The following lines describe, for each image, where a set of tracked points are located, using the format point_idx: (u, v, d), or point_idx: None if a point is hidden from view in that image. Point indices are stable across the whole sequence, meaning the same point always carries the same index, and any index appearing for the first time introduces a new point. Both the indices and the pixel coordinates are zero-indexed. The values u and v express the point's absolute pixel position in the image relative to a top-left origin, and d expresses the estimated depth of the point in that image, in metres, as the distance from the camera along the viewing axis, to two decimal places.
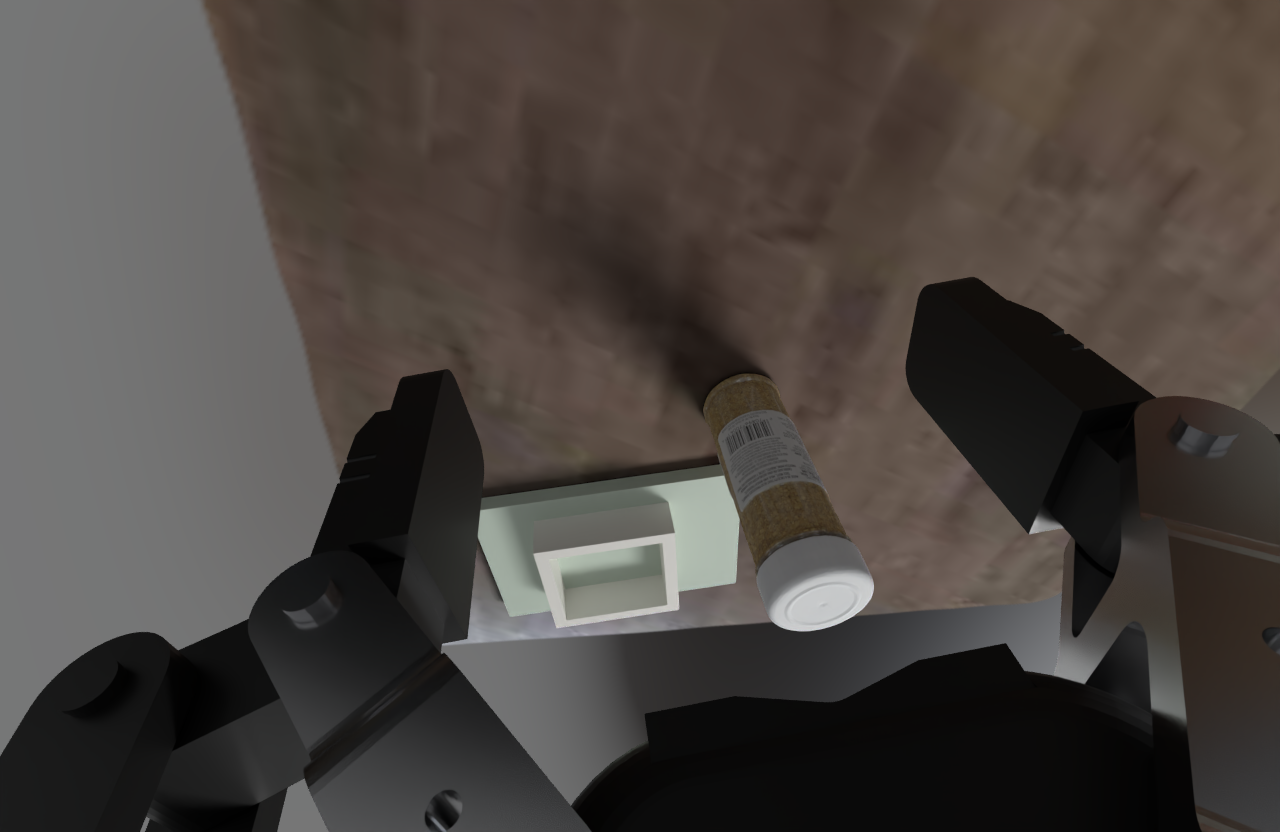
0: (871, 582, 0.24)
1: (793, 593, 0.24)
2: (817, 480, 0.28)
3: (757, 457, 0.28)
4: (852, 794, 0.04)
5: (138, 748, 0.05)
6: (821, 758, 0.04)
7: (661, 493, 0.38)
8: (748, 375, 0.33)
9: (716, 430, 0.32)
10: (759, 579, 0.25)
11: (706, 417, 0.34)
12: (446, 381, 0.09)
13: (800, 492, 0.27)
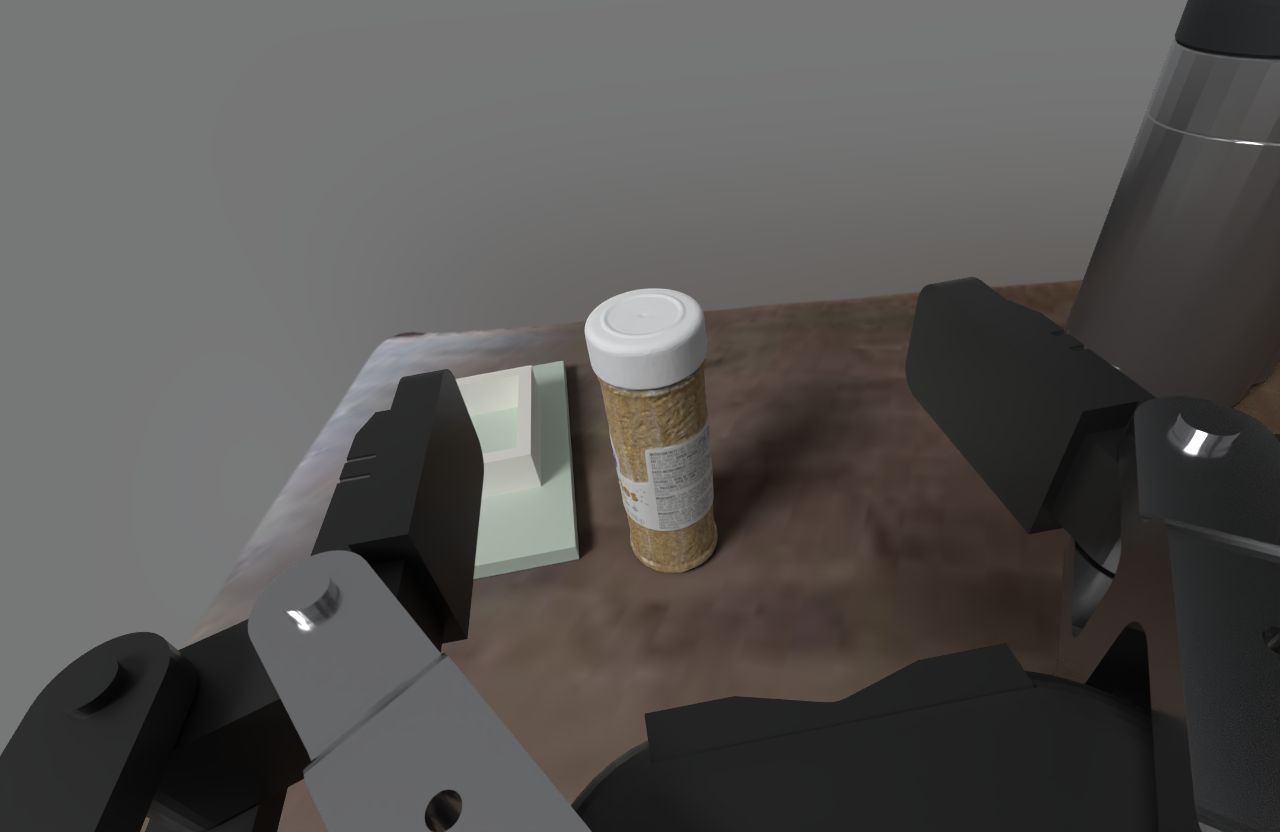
0: (676, 340, 0.21)
1: (668, 292, 0.23)
2: (701, 437, 0.25)
3: None
4: (852, 794, 0.04)
5: (136, 748, 0.05)
6: (821, 758, 0.04)
7: (556, 478, 0.34)
8: None
9: None
10: None
11: None
12: (446, 381, 0.09)
13: None
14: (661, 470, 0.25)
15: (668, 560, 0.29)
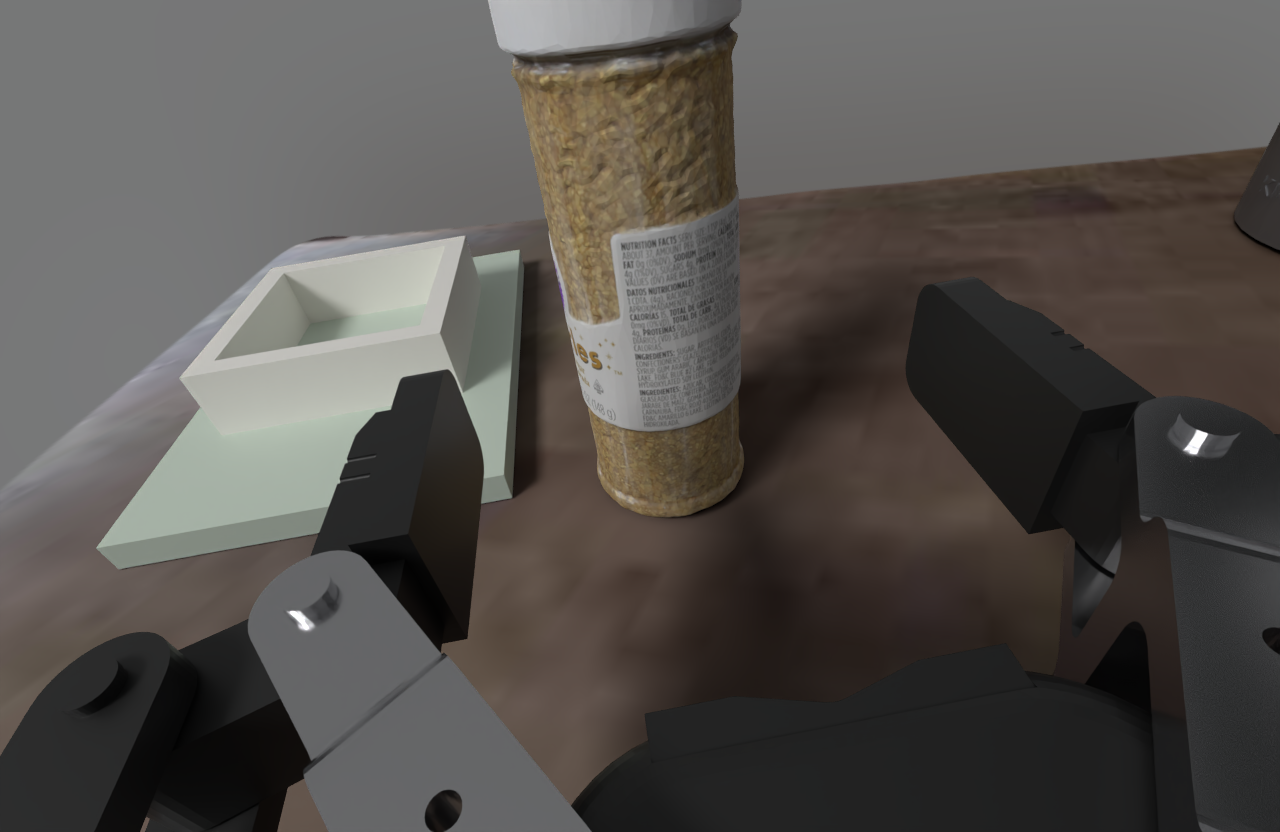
0: None
1: None
2: (725, 223, 0.12)
3: None
4: (852, 794, 0.04)
5: (139, 748, 0.05)
6: (821, 758, 0.04)
7: (488, 382, 0.22)
8: (742, 450, 0.18)
9: None
10: None
11: None
12: (446, 381, 0.09)
13: None
14: (646, 288, 0.12)
15: (660, 493, 0.16)
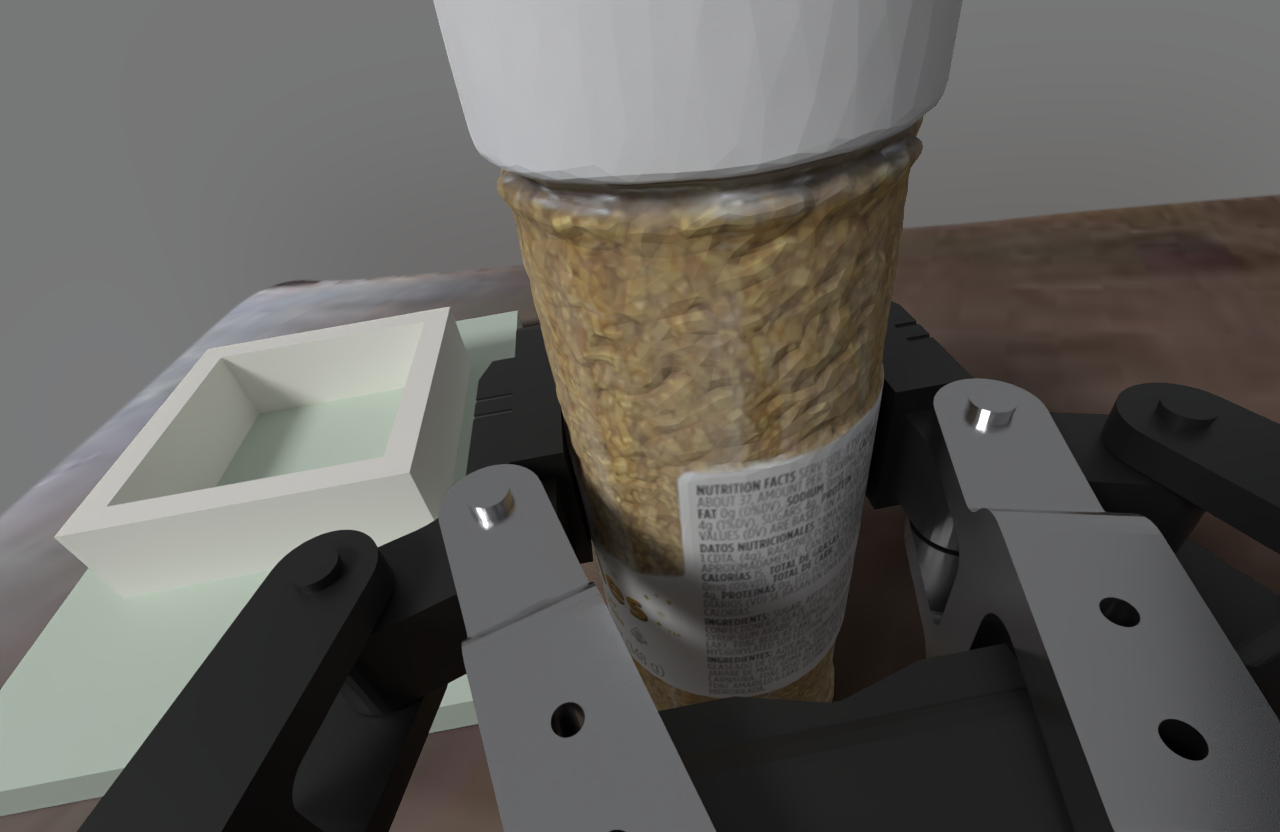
0: None
1: None
2: (870, 429, 0.07)
3: None
4: (852, 794, 0.04)
5: (340, 637, 0.06)
6: (821, 758, 0.04)
7: None
8: None
9: None
10: None
11: None
12: None
13: None
14: (733, 543, 0.07)
15: None
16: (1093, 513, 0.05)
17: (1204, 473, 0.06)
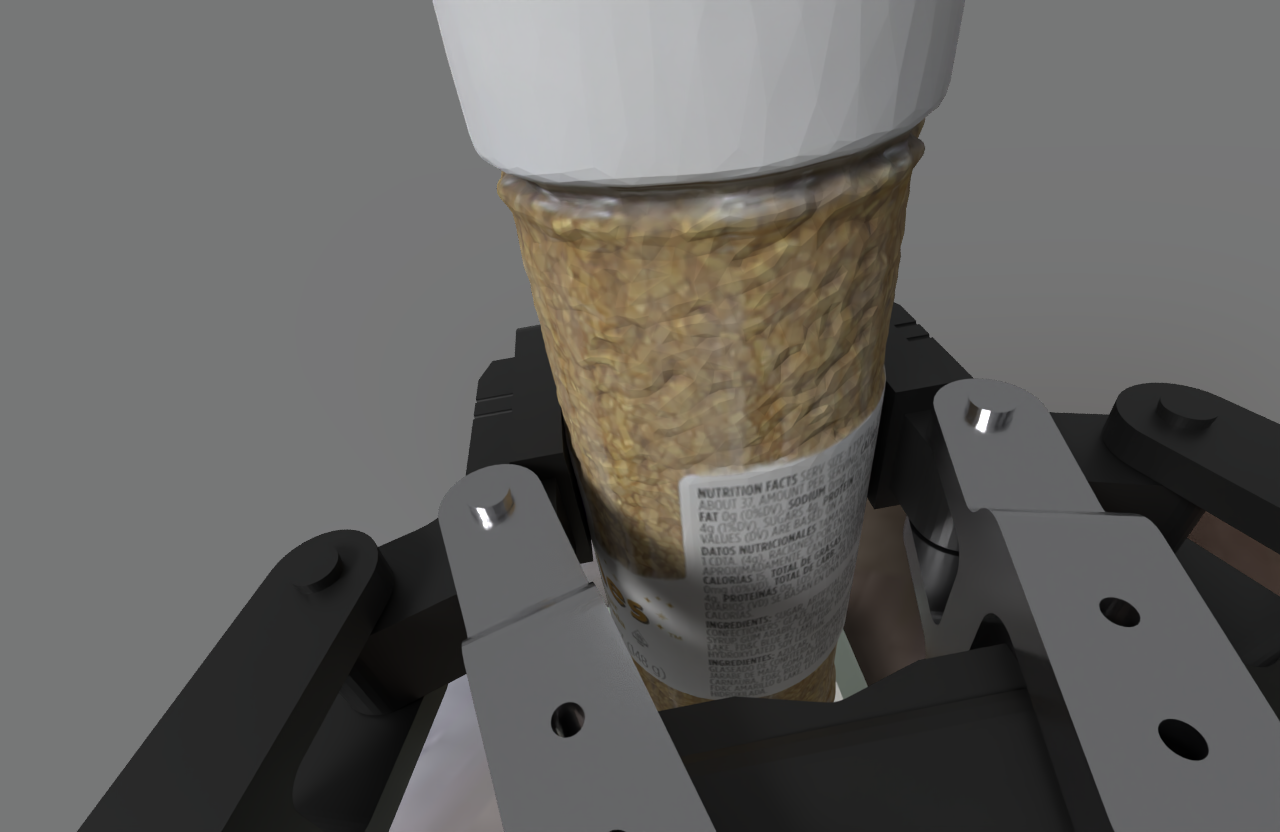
0: None
1: None
2: (871, 431, 0.07)
3: None
4: (852, 794, 0.04)
5: (341, 636, 0.06)
6: (821, 758, 0.04)
7: None
8: None
9: None
10: None
11: None
12: None
13: None
14: (734, 546, 0.07)
15: None
16: (1093, 513, 0.05)
17: (1204, 473, 0.06)
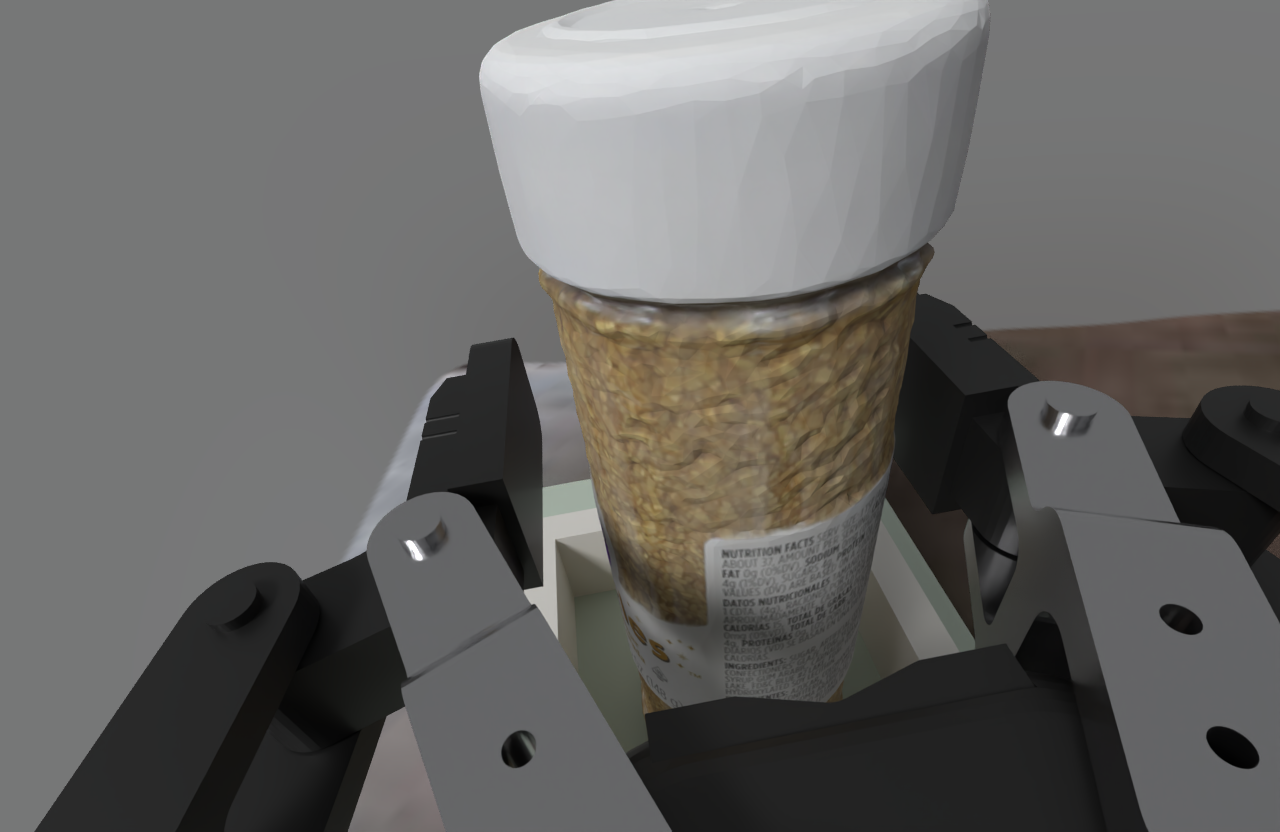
0: (919, 29, 0.04)
1: None
2: (882, 491, 0.08)
3: None
4: (852, 794, 0.04)
5: (264, 671, 0.06)
6: (821, 758, 0.04)
7: None
8: None
9: None
10: None
11: None
12: (513, 348, 0.10)
13: None
14: (755, 599, 0.08)
15: None
16: (1166, 522, 0.05)
17: None
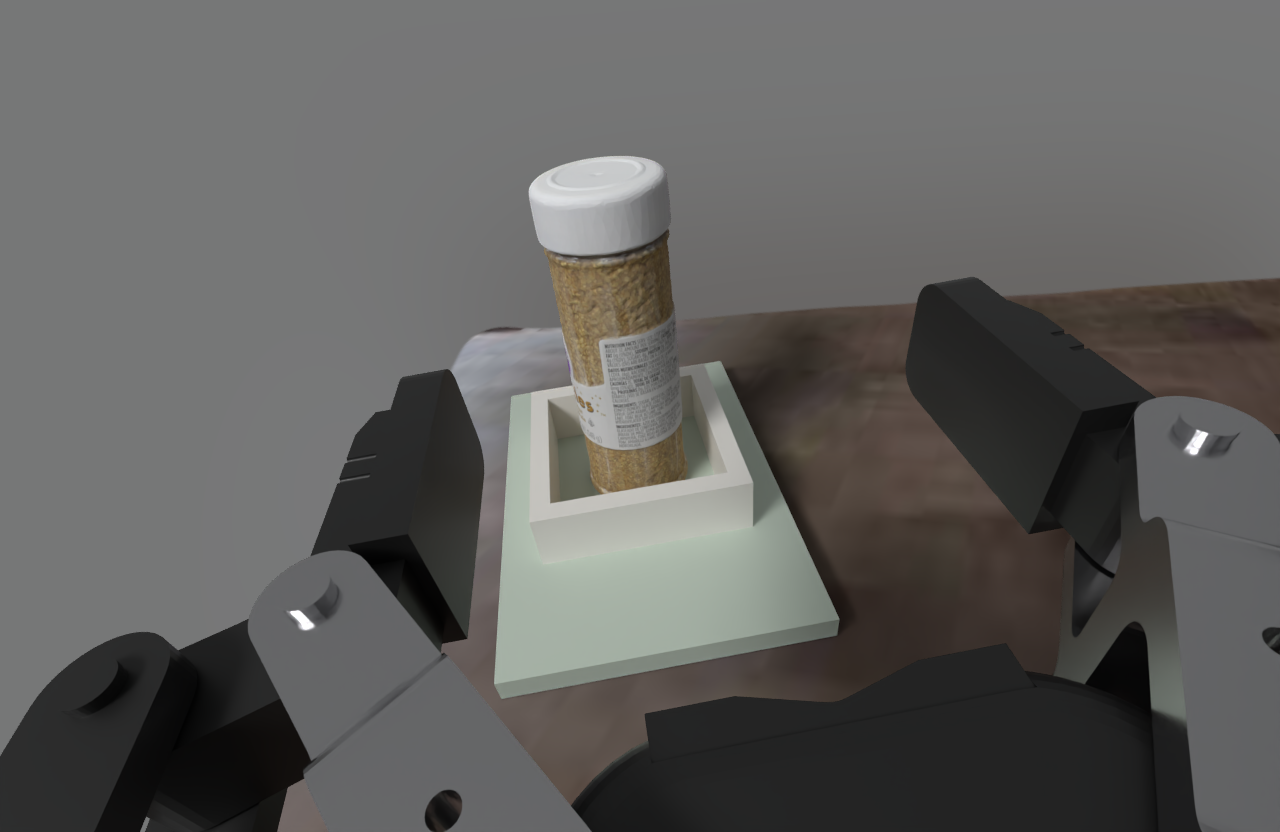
0: (632, 192, 0.18)
1: (627, 157, 0.20)
2: (665, 331, 0.21)
3: None
4: (852, 794, 0.04)
5: (136, 748, 0.05)
6: (821, 758, 0.04)
7: (770, 515, 0.25)
8: (687, 462, 0.27)
9: None
10: None
11: None
12: (446, 381, 0.09)
13: None
14: (619, 368, 0.21)
15: None
16: None
17: None
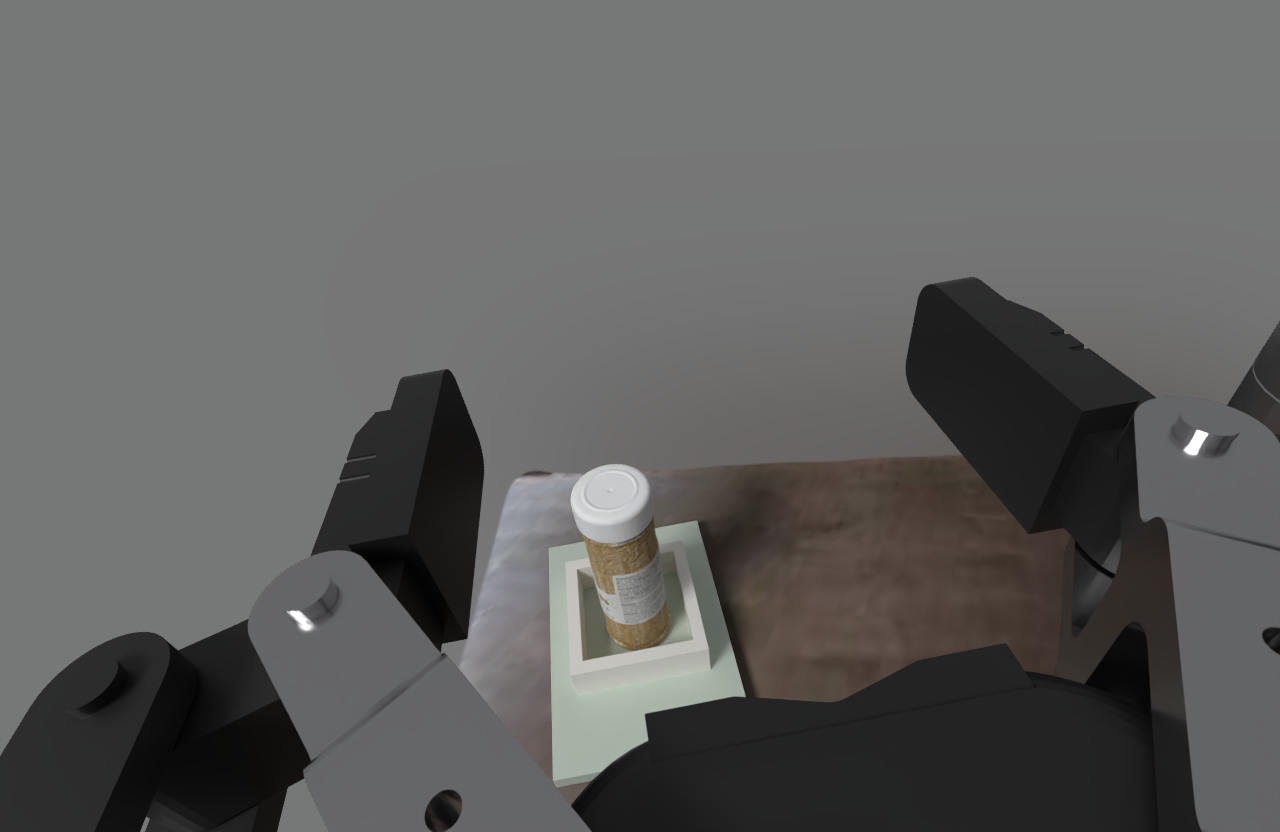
0: (630, 515, 0.32)
1: (628, 469, 0.34)
2: (652, 565, 0.35)
3: None
4: (852, 794, 0.04)
5: (136, 748, 0.05)
6: (821, 758, 0.04)
7: (722, 661, 0.39)
8: (670, 616, 0.41)
9: None
10: None
11: None
12: (446, 381, 0.09)
13: (656, 537, 0.36)
14: (624, 588, 0.35)
15: (632, 642, 0.39)
16: None
17: None
